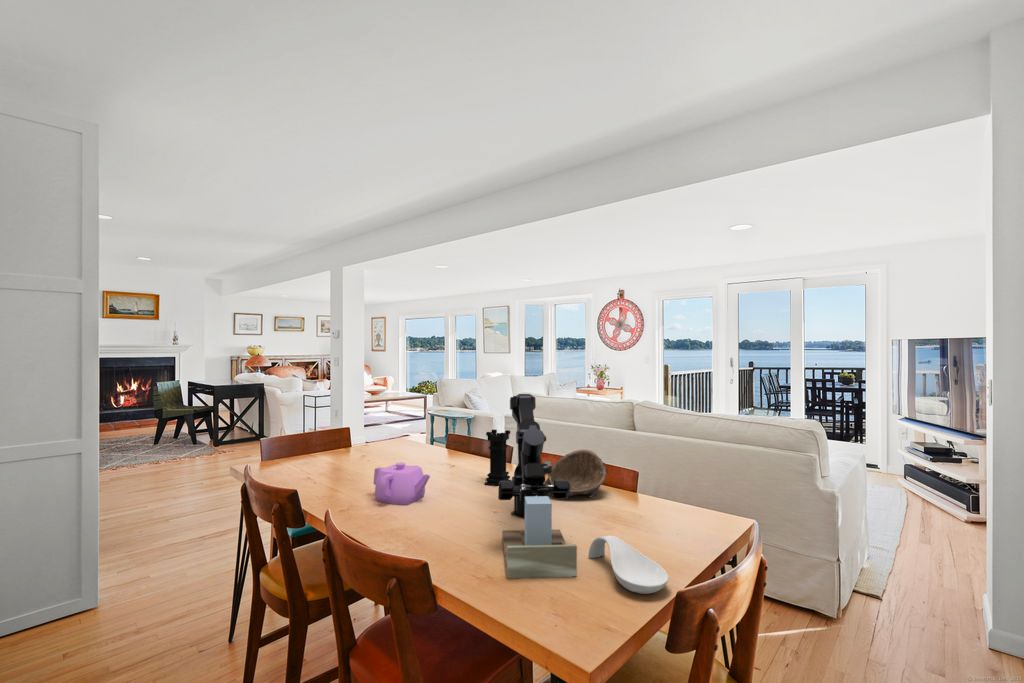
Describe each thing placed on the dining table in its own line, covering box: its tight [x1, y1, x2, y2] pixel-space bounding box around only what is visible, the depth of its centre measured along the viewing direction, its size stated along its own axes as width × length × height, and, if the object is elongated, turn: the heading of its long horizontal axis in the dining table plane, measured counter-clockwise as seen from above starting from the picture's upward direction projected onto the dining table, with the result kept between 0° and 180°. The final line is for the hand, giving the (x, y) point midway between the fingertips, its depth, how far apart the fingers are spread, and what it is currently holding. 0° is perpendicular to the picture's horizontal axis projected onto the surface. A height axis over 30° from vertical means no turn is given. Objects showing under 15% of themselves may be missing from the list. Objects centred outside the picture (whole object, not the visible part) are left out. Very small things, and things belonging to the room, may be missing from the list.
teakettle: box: [373, 462, 431, 506], centre depth 173 cm, size 17×17×12 cm
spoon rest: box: [587, 534, 670, 595], centre depth 116 cm, size 24×12×7 cm, turn 25°
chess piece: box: [484, 429, 512, 487], centre depth 192 cm, size 8×8×20 cm
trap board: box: [501, 529, 578, 579], centre depth 126 cm, size 24×16×7 cm, turn 4°
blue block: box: [524, 495, 553, 546], centre depth 123 cm, size 6×6×13 cm
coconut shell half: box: [544, 449, 609, 497], centre depth 180 cm, size 15×16×25 cm
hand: (536, 520), depth 127 cm, fingers closed
